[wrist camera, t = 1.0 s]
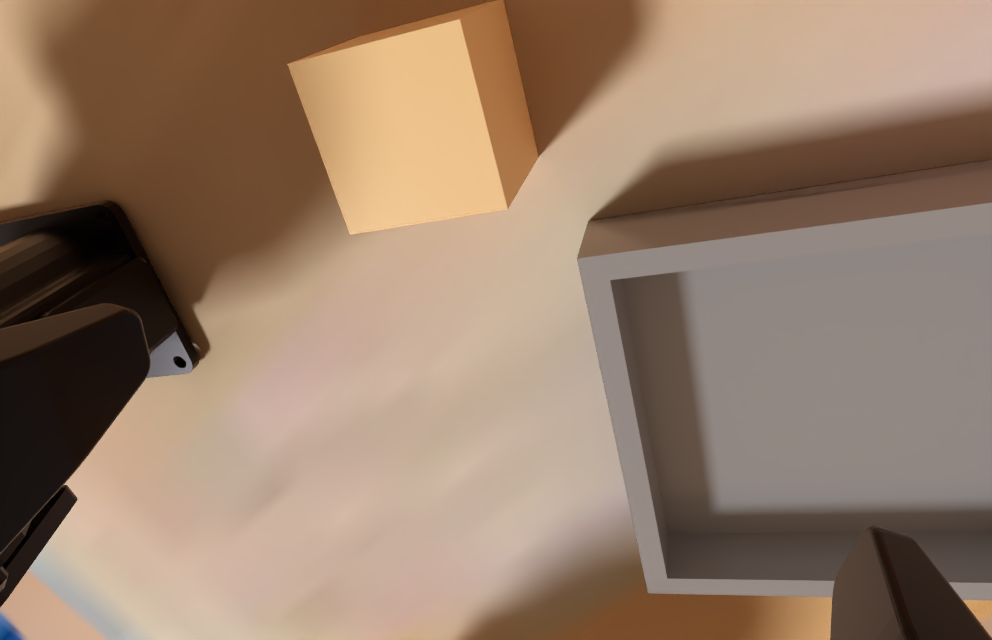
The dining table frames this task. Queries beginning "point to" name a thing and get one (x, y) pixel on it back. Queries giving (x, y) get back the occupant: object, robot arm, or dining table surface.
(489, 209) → the block
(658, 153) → the dining table surface
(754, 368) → the dish
